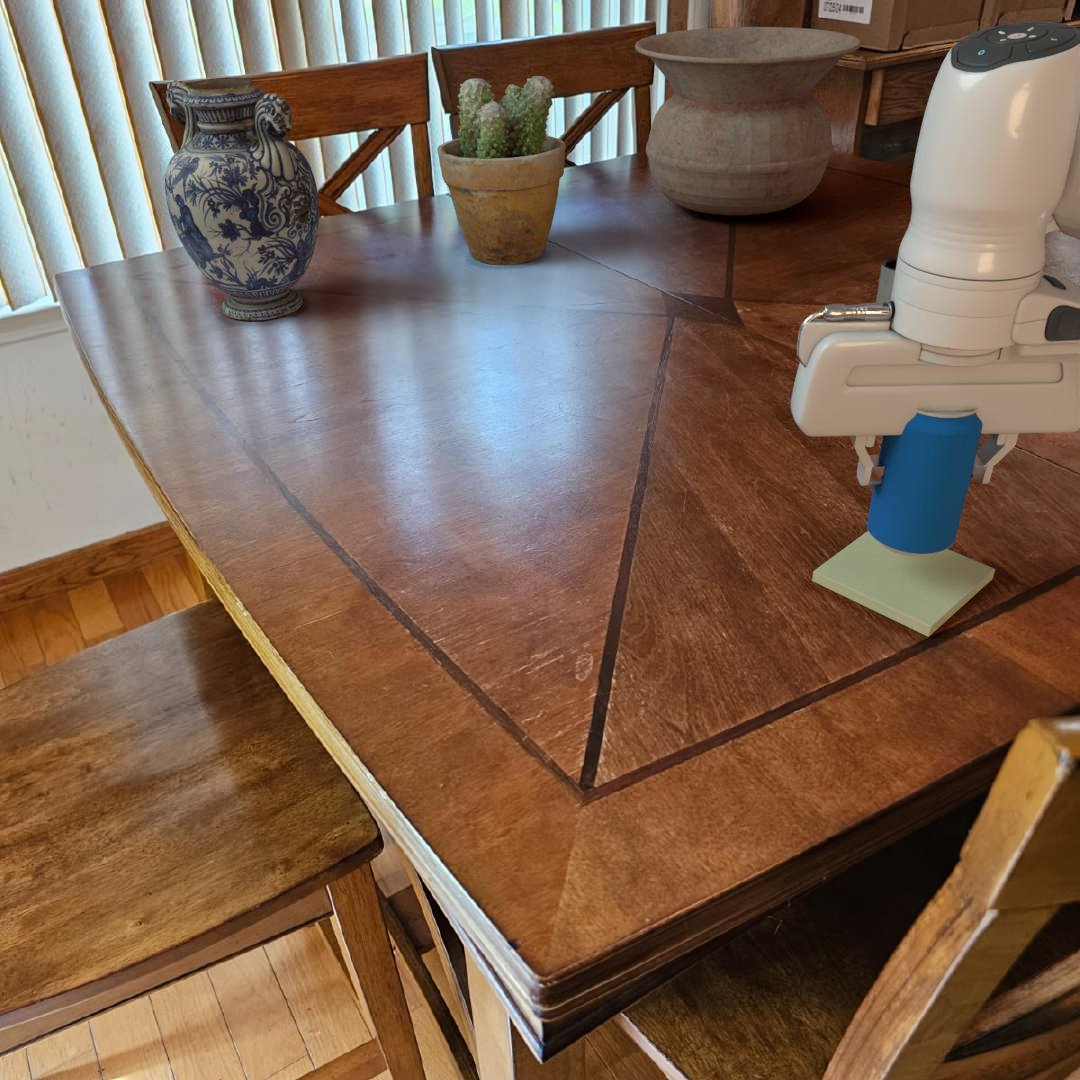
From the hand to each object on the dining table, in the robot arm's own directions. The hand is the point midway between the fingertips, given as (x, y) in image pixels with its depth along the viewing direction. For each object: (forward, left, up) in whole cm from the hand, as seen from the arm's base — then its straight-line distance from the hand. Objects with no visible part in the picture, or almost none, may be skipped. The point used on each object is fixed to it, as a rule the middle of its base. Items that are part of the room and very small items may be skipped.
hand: (922, 481), depth 73 cm
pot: (+74, -75, -9) cm, 106 cm away
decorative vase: (+93, +3, -9) cm, 93 cm away
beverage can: (0, 0, -5) cm, 5 cm away
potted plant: (+85, -34, -9) cm, 92 cm away
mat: (0, 0, -9) cm, 9 cm away
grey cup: (+24, -39, -9) cm, 47 cm away
